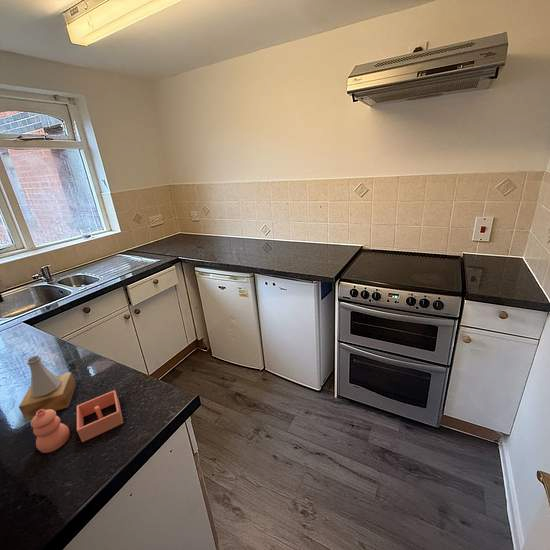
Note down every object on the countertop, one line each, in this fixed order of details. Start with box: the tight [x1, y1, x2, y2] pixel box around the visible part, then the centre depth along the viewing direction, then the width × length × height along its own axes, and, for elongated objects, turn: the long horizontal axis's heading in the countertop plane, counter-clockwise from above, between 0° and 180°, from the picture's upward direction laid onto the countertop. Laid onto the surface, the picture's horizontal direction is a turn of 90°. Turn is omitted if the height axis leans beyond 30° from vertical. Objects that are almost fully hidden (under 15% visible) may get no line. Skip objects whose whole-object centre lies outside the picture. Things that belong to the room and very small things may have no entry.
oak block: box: [18, 371, 77, 421], centre depth 84 cm, size 10×10×5 cm
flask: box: [25, 354, 62, 398], centre depth 82 cm, size 7×7×10 cm
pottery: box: [30, 389, 124, 454], centre depth 73 cm, size 18×10×10 cm, turn 123°
